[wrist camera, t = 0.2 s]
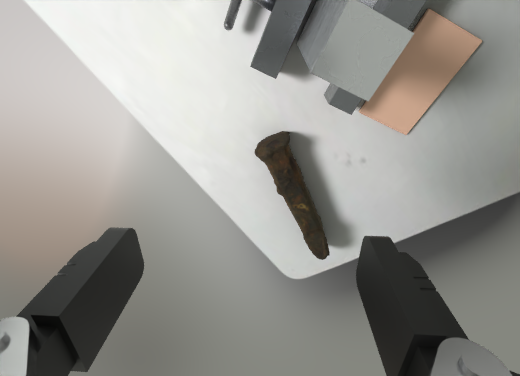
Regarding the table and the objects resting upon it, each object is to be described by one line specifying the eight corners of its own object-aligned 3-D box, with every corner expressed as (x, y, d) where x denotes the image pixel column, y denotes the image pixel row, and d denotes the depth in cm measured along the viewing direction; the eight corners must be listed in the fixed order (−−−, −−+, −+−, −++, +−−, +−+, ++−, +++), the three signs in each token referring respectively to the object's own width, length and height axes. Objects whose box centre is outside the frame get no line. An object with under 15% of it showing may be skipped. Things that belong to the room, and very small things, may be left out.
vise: (271, -119, 20) (270, -135, 18) (423, -22, 23) (442, -24, 20) (219, 44, 26) (213, 49, 24) (344, 104, 29) (351, 114, 26)
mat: (427, 8, 24) (429, 8, 24) (479, 40, 25) (482, 41, 25) (358, 111, 29) (359, 112, 29) (404, 133, 30) (406, 135, 30)
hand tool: (254, 137, 32) (251, 157, 28) (287, 125, 31) (288, 144, 27) (304, 245, 42) (306, 270, 38) (330, 239, 41) (335, 264, 37)
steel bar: (318, -4, 24) (350, -4, 14) (358, 18, 25) (414, 33, 15) (296, 43, 26) (310, 73, 16) (333, 62, 27) (368, 101, 17)
